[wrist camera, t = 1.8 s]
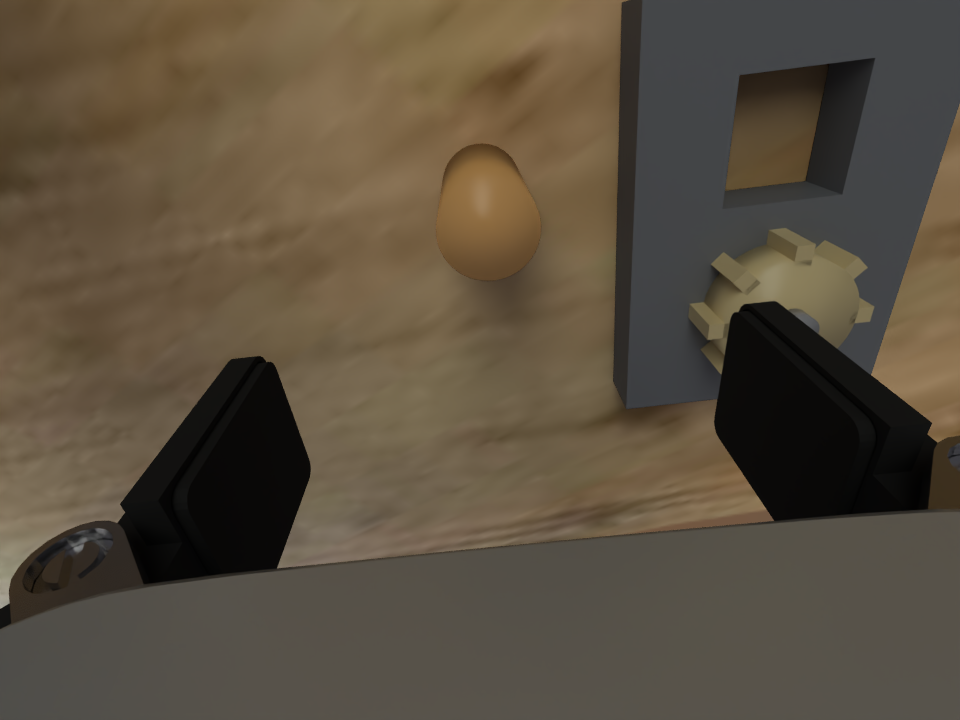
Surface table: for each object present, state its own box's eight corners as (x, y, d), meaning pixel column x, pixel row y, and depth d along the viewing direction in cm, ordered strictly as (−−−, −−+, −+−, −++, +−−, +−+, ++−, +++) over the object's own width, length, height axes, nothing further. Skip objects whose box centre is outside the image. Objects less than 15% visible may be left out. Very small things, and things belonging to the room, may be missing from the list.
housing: (621, 2, 23) (674, -15, 17) (946, -41, 22) (1110, -73, 17) (613, 381, 33) (644, 448, 27) (836, 356, 32) (913, 419, 27)
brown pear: (436, 149, 26) (427, 184, 19) (517, 138, 25) (538, 170, 19) (448, 228, 28) (444, 286, 21) (523, 219, 27) (543, 274, 21)
